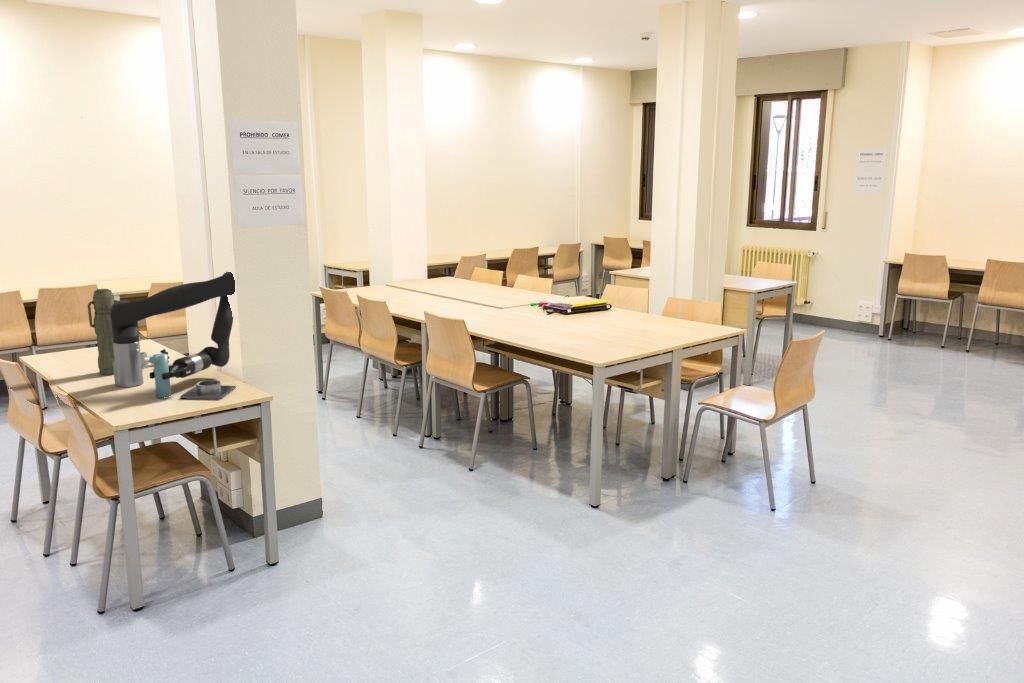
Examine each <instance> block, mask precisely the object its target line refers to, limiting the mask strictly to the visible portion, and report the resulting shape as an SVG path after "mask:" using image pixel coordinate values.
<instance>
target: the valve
mask: <svg viewBox="0 0 1024 683" xmlns="http://www.w3.org/2000/svg"><path fill="white" fill-rule="evenodd" d="M140 352H141V351H140ZM159 352H160V354H168V355H169V352H168V351H166V349H165V348H164V349H161V350H160V351H159ZM152 356H153V355H148V352H146V351H143V352H141V363H142V370H145V368H146V369H148V368H149V364H151V363H150V361H149V358H150V357H152ZM169 360H170V356H168V364H169V363H170V361H169Z"/></svg>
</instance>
